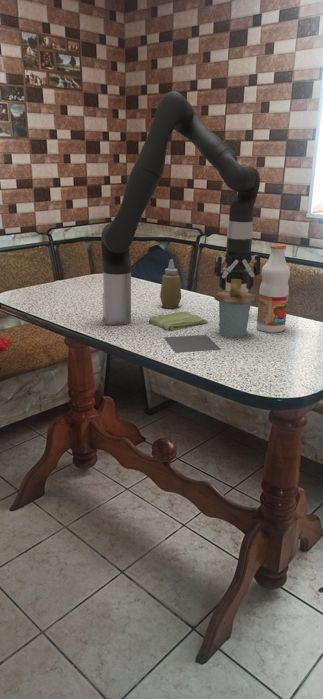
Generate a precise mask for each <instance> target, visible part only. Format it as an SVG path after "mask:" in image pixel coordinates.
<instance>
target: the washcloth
mask: <svg viewBox="0 0 323 699" xmlns="http://www.w3.org/2000/svg"><path fill="white" fill-rule="evenodd" d="M148 324H149V325H154V326H155V327H159V328H161V329H163V330H164V331H167V332H170V331H171V332H175V331H179V330H182V329H183V330H184V329H187V328H191V327H195V326H199V325H206V324H207V325H208V324H209V321H208V320H207V319H205V318H203V317H200V316H199V315H198V314H193V313H191V312H189V311H187V310H186V311H175V312H172V313H168V314H160V315H159V314H158V315H155V316H152V317H150V318H149V319H148Z"/></svg>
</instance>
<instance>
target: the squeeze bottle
mask: <svg viewBox="0 0 323 699" xmlns="http://www.w3.org/2000/svg"><path fill="white" fill-rule="evenodd" d="M164 273H165V274H163V275H162V278H161V285H160V292H159V293H160V294H159V297H160V298H159V299H160V302H161V305H162V307H163V308H165V309H176V308H178V307H179V305H180V303H181V299H182V290H181V277H180V275H179V274H178V268H175V262H174V259H173V258H171V259H169V263H168V266H167V268H165V269H164Z"/></svg>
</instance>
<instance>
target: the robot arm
mask: <svg viewBox="0 0 323 699" xmlns="http://www.w3.org/2000/svg"><path fill="white" fill-rule="evenodd" d="M174 131H175V132H177V133H178V134H180V135H181V136H183V137H184V138H186V139H187V140H188V141H190V143H191V144H193V145H194V147H195V148H196V149H197V150H198V152H199V153H200V154H201V155H202V156H203V157H204V158H205V160H207V162H208V163H209V164H211V166H212V167H213V168H214V169H215V170H216V171H217V172H218V174H219V175H220V177H221V179H222V181H223V182H224V184H225V185H226V186H227V187H228V188H229V189H230V190H232V191H233V192H235V193H236V192H237V195H236V198H235V199H233V200H232V201H231V202H230V205H229V214H228V216H229V217H228V225H227V232H226V248H225V249H226V251H225V255H224V256H223V255H222V256H221V255H215V260H214V270H213V275H215V276H217V277H219V281H218V282H219V284H218V285H219V286H218V287H219V288H220V289H221V290H222V291H226V278H227V274H228V273H230V272H231V270H243V269H244V270H245V271H246V272H247V274H248V276H247V284H246V288H247V289H248V290H251V289H252V288H253V286H254V277H255V276H259V275H260V274H261V256H260V255H258V254H254V255H251V254H252V253H251V252H252V245H253V230H254V227H253V219H254V207H255V205H256V204H255V203H256V201H257V197H258V193H259V191H260V190H259V189H260V186H261V177H260V172H259V170H257V168H255V167H254V166H250V165H249V166H246V165H245V166H243V165H241V164H239V162H238V157H237V153H235V152H234V150H233V149H232V148H231V147H230V146H229V145H228V144H227V143H226V142H224V141H223V140H222V139H221V138H220V137H219V136H218V135H217V134H215V133H214V132H213V131H211V130H210V129H209V128H208V127H207V126H206V125H205V124H204V123H203V121H202V120H201V119H200V117H199V116H198V114H197V113H196V111H195V110H194V108H193V107H192V104H191V103H190V102H189V101H188V100H187V99H186V97H185V96H184V95H183V94H182V93H180V92H179V91H175V90H172V91H169V92H167V93H166V94H164V95H163V96H162V98H161V100H160V101H159V103H158V105H157V108H156V110H155V114H154V117H153V120H152V122H151V125H150V128H149V131H148V133H147V136H146V138H145V141H144V142H143V145H142V147H141V150H140V152H139V155H138V157H137V158H136V161H135V162H134V165H133V166H132V169H131V171H130V173H129V175H128V179H127V182H126V185H125V187H124V188H125V189H124V192H123V197H122V201H121V204H120V207H119V209H118V211H117V213H116V215H115V217H114V219H113V220H112V222H109V223H107V224H106V225H104V227H103V229H102V231H101V261H102V262H101V263H102V277H103V278H102V281H103V282H102V283H103V289H102V290H103V292H102V321H103V323H104V324H105V325H110V326H111V325H113V326H123V325H128V324H130V323H131V322H132V265H131V257H130V256H131V255H130V247H131V246H132V243H133V241H134V239H135V238H134V237H135V235H136V232H137V228H138V226H139V223H140V221H141V218H142V216H143V214H144V212H145V210H146V208H148V207H147V206H148V205H149V204H150V201H151V200H152V197H153V195H154V193H155V191H156V190H157V187H158V185H159V183H160V181H161V178H162V176H163V175H164V171H165V166H166V156H167V148H168V145H169V140H170V138H171V136H172V134H173V132H174ZM251 261H252V263H253V267H252V268H253V269H252V268H251V266H250V263H251ZM224 262H225V263H226V264H225V265H224V266H223V268H222V264H223V263H224Z"/></svg>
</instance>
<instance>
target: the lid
mask: <svg viewBox="0 0 323 699" xmlns="http://www.w3.org/2000/svg"><path fill="white" fill-rule="evenodd" d="M213 297H214V298H213V299H214V300H215V301H217V302H218V303H219V302H223V303H228V304H249V303H251V304H253V303H255V302H256V300H257V296H256V295H255V294H254V293H250V292H248V293H247V292H241V280H240V279H231V289H230V291H226V290H222V291H218V292H216V293H214V295H213Z"/></svg>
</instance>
